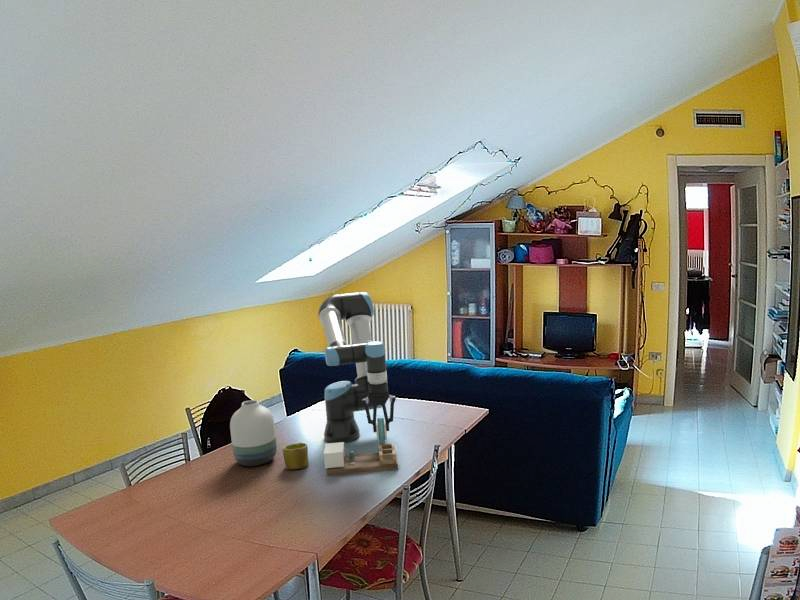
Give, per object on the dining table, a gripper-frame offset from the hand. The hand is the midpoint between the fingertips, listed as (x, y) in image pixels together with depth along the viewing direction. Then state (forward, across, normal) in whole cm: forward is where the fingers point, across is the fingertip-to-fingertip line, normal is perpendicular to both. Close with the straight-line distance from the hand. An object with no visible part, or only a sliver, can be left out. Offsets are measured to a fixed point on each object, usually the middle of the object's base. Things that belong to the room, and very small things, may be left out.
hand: (382, 439), depth 242 cm
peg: (+4, 0, 0) cm, 4 cm away
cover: (+3, -18, -12) cm, 22 cm away
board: (+5, -8, -12) cm, 15 cm away
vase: (+6, -50, +3) cm, 51 cm away
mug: (+6, -33, -5) cm, 34 cm away
